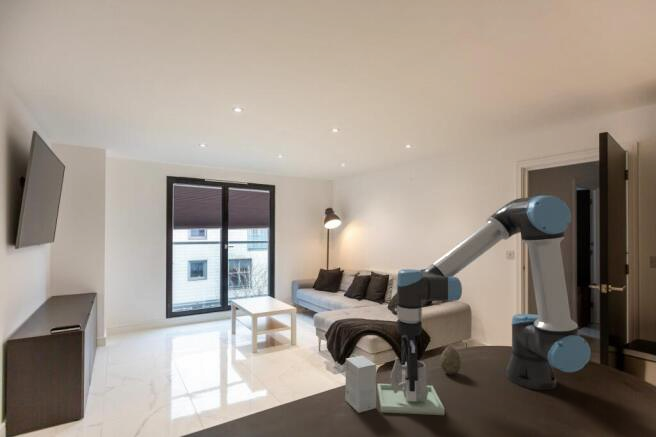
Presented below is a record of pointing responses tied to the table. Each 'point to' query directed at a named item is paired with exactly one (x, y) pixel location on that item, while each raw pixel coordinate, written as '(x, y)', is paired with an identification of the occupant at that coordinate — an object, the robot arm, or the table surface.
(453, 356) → the decorative egg
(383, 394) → the tray
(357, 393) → the small box
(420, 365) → the mug
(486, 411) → the table surface
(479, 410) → the table surface
